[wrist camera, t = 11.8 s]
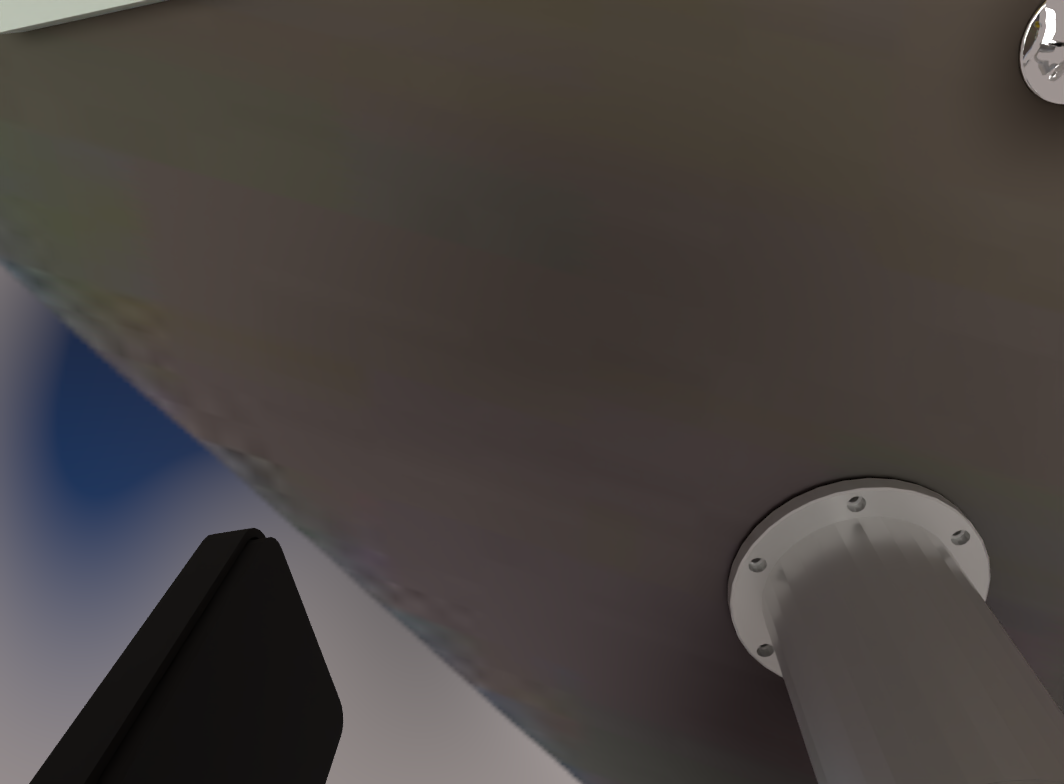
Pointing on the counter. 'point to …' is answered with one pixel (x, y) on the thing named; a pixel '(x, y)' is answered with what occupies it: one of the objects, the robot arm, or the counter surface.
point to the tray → (57, 12)
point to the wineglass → (1044, 52)
